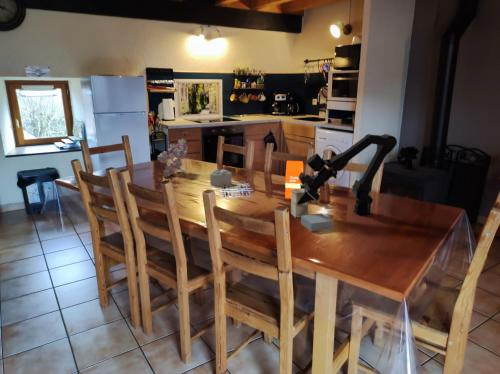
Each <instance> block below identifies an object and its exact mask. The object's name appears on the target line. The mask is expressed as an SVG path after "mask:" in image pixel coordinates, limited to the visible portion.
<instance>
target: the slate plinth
mask: <svg viewBox="0 0 500 374" xmlns="http://www.w3.org/2000/svg"><path fill="white" fill-rule="evenodd" d="M300 224H301V225H302V226H303V227H305V228H306V229H307V230H309V232H310V233H311V232H312V233H313V232H319V231H324V230H325V231H326V230H332V229H333V220H332V218H331V219H330V218H329V217H327V216H326V215H325V214H323V213H322V212H321V213H312V214H308V215H303V216H301V217H300Z"/></svg>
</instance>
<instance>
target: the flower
mask: <svg viewBox="0 0 500 374" xmlns="http://www.w3.org/2000/svg"><path fill="white" fill-rule="evenodd" d="M177 140H178V141H177V144H175V143H172V144H171V143H170V144H169V148H168V149H167V151H165V150H164V151H163V152H161V153H159V155H157V161H159V162H160V163H165V164H167V165H166V166H165V170H163V174H164V176H166V177H170V176H171V175H172V174H175V172H176V173H183V174H186V173H185V171H186V169H185V167H183V168H181V167H182V165H183V163H182V160H184V159H185V158H186V156H187V154H188V150H187V149H188V147H189V146H188V145H187V144H186V143H187V140H186V139H184V138H183V137H182V138H181V140H180V139H177ZM168 152H169V153H170V152H171V153H170V154H168ZM174 158H175V159H174ZM173 159H174V160H173ZM169 160H171V162H169ZM174 168H175V169H177V171H175V169H174ZM173 169H174V170H173Z"/></svg>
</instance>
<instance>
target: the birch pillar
mask: <svg viewBox="0 0 500 374" xmlns="http://www.w3.org/2000/svg"><path fill="white" fill-rule="evenodd" d="M304 190H305V189H292V191H291V199H290V202H291V203H290V214H291V215H292V216H293V217H294V218H295V219H296V217H297V218H301V216H303V215H309V214H308V213H309V211H308V210H309V202H306V203H303V204H300V205H298V204H297V203H298V201H299V200H300V199H301V198H302V196H303V195H304Z"/></svg>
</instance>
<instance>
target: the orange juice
mask: <svg viewBox="0 0 500 374" xmlns="http://www.w3.org/2000/svg"><path fill="white" fill-rule="evenodd" d="M301 172H302V173H304V162H303V161H302V160H301V161H300V160H286V169H285V187H284V188H285V193H284V196H285V197H284V199H290V200H291V191H292V189H300V184H301V182H300V180H299V178H298V177H299V175H300V173H301ZM301 185H302V184H301Z"/></svg>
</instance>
